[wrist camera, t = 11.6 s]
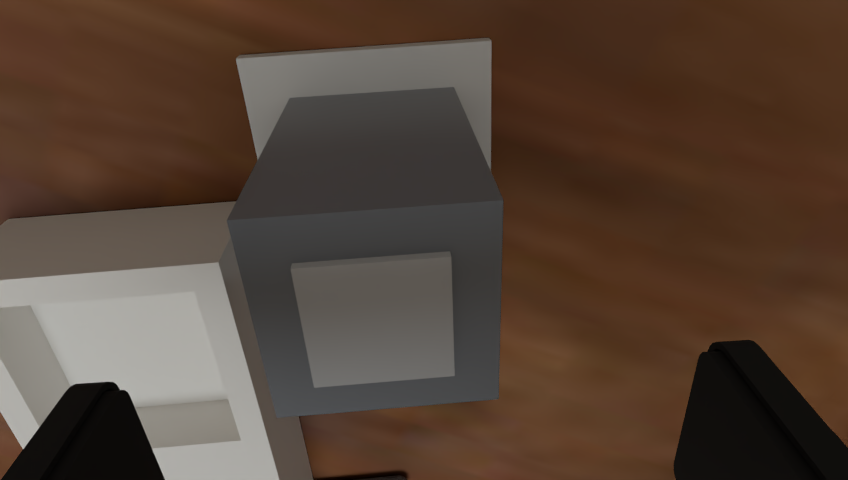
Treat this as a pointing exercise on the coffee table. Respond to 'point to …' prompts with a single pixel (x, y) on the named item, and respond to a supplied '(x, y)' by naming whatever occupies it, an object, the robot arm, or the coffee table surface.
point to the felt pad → (369, 78)
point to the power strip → (144, 336)
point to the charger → (372, 254)
